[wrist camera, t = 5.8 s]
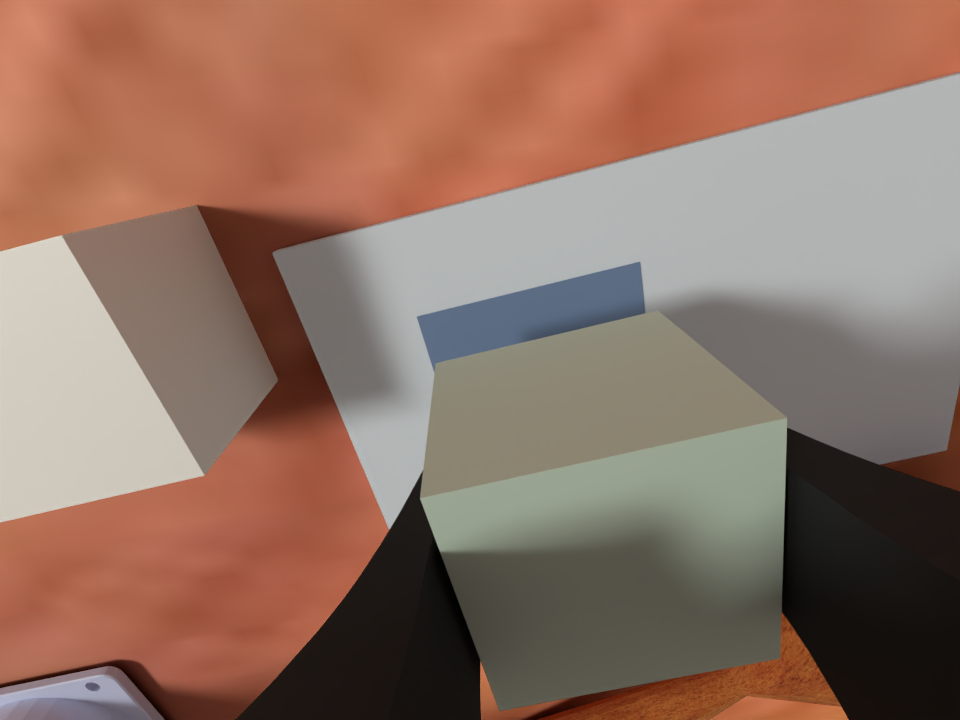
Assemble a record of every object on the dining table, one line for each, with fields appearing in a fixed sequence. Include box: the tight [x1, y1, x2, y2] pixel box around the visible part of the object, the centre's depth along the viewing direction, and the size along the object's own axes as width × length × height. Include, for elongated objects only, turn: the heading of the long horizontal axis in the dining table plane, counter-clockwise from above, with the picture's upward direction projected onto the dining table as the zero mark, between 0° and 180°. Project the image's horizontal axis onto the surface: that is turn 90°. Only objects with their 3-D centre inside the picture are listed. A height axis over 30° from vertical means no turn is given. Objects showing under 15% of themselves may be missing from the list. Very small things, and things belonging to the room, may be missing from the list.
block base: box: [420, 311, 787, 711], centre depth 9 cm, size 5×5×4 cm
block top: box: [0, 205, 278, 522], centre depth 11 cm, size 5×5×4 cm
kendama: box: [537, 613, 841, 720], centre depth 17 cm, size 6×6×20 cm
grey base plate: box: [272, 72, 960, 530], centre depth 14 cm, size 18×11×1 cm, turn 104°
